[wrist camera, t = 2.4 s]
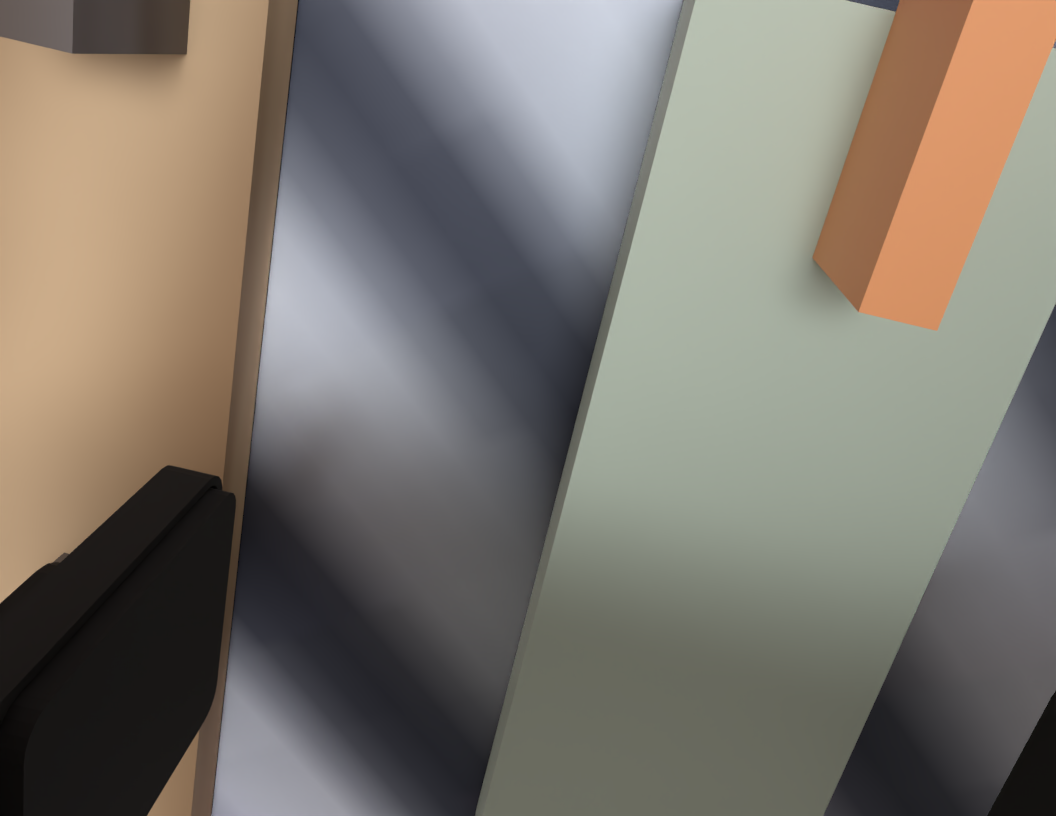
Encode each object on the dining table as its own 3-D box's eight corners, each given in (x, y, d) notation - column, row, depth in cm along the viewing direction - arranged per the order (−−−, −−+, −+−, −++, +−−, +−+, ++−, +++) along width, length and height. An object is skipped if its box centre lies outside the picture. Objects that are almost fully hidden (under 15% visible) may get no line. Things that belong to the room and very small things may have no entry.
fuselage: (999, 51, 11) (1340, 45, 6) (658, 933, 17) (664, 1342, 12) (688, -20, 12) (732, -95, 6) (458, 880, 18) (371, 1261, 12)
